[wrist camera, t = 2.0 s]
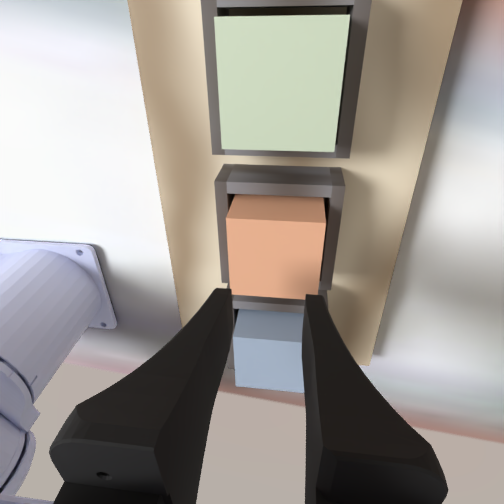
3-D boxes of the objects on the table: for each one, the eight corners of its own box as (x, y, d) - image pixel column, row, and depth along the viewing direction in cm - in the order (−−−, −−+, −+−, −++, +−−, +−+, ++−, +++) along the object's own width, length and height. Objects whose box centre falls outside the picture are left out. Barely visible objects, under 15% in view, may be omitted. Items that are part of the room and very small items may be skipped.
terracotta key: (239, 261, 21) (230, 294, 18) (236, 190, 18) (225, 218, 16) (315, 265, 20) (316, 300, 18) (322, 194, 18) (325, 223, 15)
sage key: (234, 129, 17) (221, 148, 14) (230, 16, 14) (214, 16, 12) (329, 131, 16) (334, 151, 14) (341, 15, 14) (350, 14, 11)
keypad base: (190, 335, 29) (176, 375, 26) (133, -43, 16) (89, -59, 13) (366, 350, 28) (374, 395, 24) (463, -55, 14) (510, -76, 11)
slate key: (242, 349, 25) (235, 386, 22) (240, 301, 22) (232, 336, 20) (306, 354, 24) (306, 393, 22) (311, 306, 22) (312, 343, 20)
